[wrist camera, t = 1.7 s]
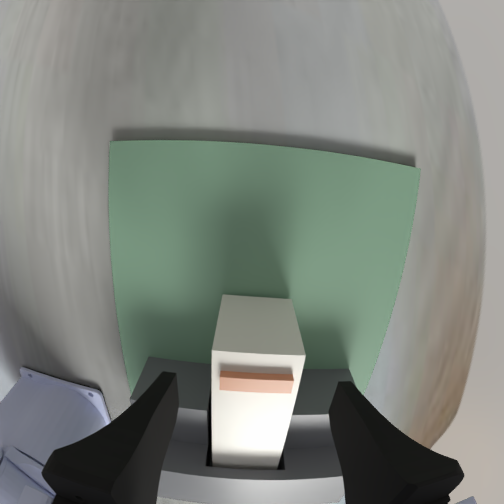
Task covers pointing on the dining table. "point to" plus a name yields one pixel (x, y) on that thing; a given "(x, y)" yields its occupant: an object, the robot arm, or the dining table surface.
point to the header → (245, 480)
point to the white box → (254, 380)
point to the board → (255, 245)
